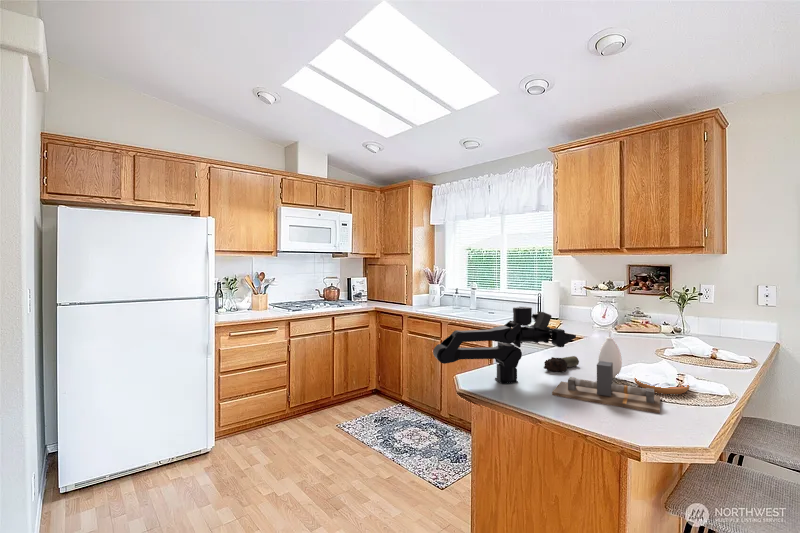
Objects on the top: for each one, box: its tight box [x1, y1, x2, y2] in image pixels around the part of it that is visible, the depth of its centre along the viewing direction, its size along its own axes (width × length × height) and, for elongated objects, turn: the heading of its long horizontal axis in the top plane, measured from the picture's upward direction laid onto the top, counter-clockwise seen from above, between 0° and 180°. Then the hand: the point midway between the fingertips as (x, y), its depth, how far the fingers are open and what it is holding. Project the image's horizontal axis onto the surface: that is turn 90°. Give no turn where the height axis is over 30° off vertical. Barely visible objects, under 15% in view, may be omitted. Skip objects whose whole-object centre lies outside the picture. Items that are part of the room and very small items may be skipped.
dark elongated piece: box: [543, 355, 580, 373], centre depth 163 cm, size 18×7×6 cm, turn 121°
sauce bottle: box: [597, 330, 623, 379], centre depth 150 cm, size 8×8×18 cm
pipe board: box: [551, 376, 661, 414], centre depth 129 cm, size 30×14×5 cm, turn 56°
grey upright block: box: [596, 361, 614, 396], centre depth 129 cm, size 4×6×10 cm
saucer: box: [634, 377, 690, 396], centre depth 137 cm, size 16×16×3 cm
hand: (568, 334), depth 151 cm, fingers open, 9 cm apart
